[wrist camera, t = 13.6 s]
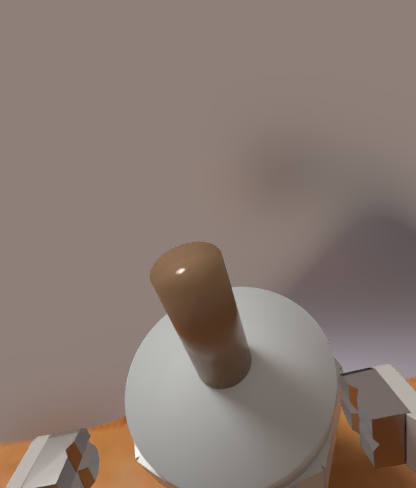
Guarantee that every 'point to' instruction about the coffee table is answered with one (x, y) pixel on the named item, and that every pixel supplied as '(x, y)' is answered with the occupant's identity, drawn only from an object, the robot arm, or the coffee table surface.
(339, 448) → the coffee table surface
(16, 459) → the coffee table surface
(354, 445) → the coffee table surface
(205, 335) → the hexagonal peg stand
